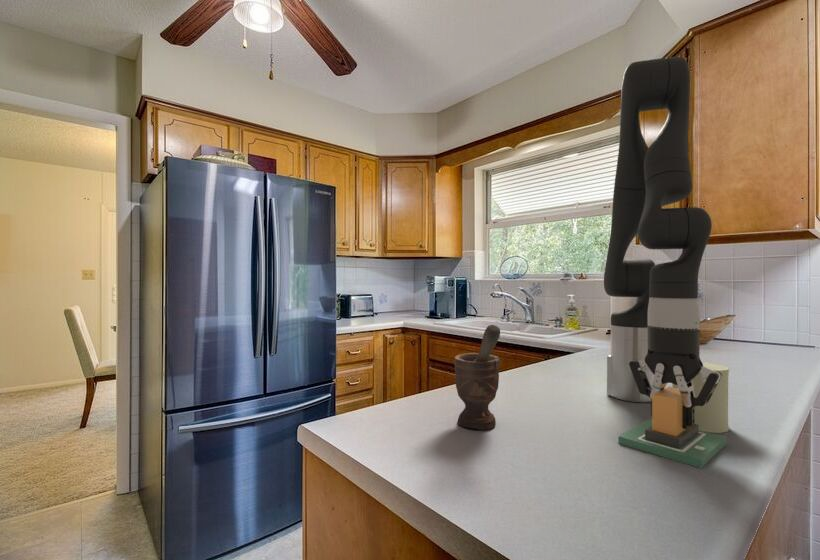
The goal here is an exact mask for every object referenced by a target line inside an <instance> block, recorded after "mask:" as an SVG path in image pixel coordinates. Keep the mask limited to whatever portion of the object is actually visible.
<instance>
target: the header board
mask: <svg viewBox="0 0 820 560" xmlns="http://www.w3.org/2000/svg"><path fill="white" fill-rule="evenodd" d="M617 438H618V444H620V445H623V446H626V447H630V448H632V449H633V448H634V449H636V450H640V451H643V452H647V453H649V454H653V455H657V456H660V457H663V458H667V459H670V460H672V461H677V462H679V463H682V464H687V465H690V466H694V467H696V468H700V469H702V468H703V467H704V466H705V465H707V464H708V463H709V461H711V459H713V458H714V457H715V456H716V455H717V454H718V453H719V452H720V451H721V450H722V449H723V448H724V447H725V446H726V445H727V436H722V435H718V434H716V433H709V432H703V431H699V425H697V424H693V425H692V426H691V427H690V428H688V429H686V430H684V431H683V432H682V433H680V434H679V435H677V436H674V435H670V434H666V433H662V432H659V431H655V430H652V418H648V419H646V420H645V421H643V422H642V423H640V424H638V425H636V426H634V427H632V428H631V429H629V430H627V431H624V432H623V433H622V434H620V435H618V437H617Z"/></svg>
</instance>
